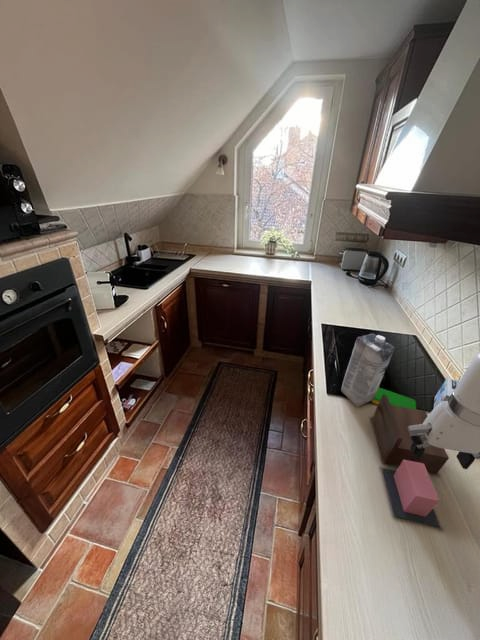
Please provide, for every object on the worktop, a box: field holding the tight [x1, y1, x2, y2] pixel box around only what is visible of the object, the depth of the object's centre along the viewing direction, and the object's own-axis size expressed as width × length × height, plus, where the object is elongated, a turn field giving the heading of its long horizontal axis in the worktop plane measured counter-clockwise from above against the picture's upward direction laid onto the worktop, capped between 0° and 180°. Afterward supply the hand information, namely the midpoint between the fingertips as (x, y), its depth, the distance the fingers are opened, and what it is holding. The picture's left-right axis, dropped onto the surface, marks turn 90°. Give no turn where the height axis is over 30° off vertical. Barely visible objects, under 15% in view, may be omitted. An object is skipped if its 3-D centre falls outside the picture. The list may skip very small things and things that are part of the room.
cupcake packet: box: [394, 459, 440, 517], centre depth 65 cm, size 5×9×8 cm, turn 168°
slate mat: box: [382, 468, 440, 528], centre depth 67 cm, size 10×12×1 cm
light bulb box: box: [433, 377, 459, 409], centre depth 89 cm, size 11×7×11 cm, turn 144°
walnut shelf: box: [371, 394, 450, 475], centre depth 77 cm, size 14×16×12 cm
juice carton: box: [340, 332, 396, 407], centre depth 90 cm, size 9×10×27 cm
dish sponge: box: [370, 386, 417, 409], centre depth 94 cm, size 7×14×2 cm, turn 60°
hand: (437, 458), depth 59 cm, fingers open, 9 cm apart
